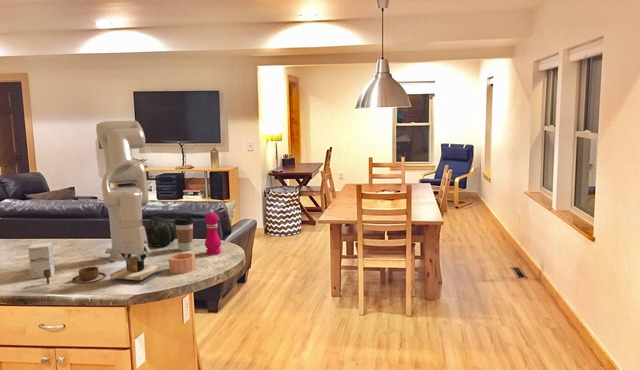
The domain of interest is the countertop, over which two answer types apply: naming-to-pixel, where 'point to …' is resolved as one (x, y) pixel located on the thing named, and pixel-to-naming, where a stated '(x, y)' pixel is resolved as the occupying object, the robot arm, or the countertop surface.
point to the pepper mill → (212, 234)
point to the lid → (134, 270)
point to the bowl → (182, 263)
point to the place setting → (80, 275)
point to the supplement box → (41, 259)
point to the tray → (136, 282)
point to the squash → (160, 232)
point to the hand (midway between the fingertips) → (135, 269)
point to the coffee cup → (184, 232)
